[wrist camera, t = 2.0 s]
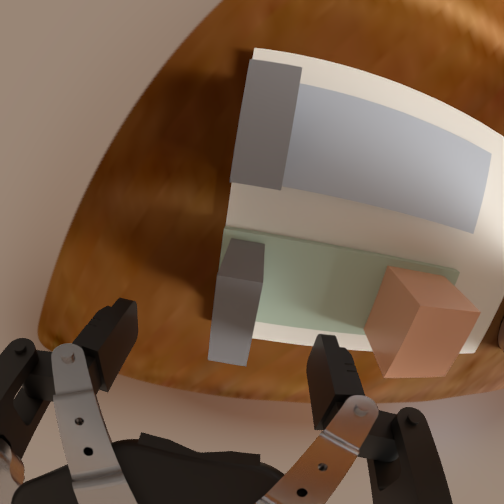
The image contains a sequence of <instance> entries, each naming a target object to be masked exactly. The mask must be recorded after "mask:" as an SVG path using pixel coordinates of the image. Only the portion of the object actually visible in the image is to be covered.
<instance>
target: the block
mask: <svg viewBox="0 0 504 504" xmlns="http://www.w3.org/2000/svg"><path fill="white" fill-rule="evenodd" d="M480 313H481V312H480V311H479V310H478V309H477V308H476V307H475V305H474V304H473V303H472V302H471V301H470V300H469V299H467V298H466V297H465V296H464V295H463V294H462V293H461V292H460V291H459V290H458V289H457V288H456V287H455V286H454V285H453V284H452V283H451V282H450V281H449V280H448V279H447V278H446V277H444V276H442V275H436V274H431V273H426V272H420V271H415V270H410V269H404V268H399V267H393V266H388V265H387V268H386V271H385V274H384V277H383V280H382V283H381V285H380V288H379V291H378V294H377V296H376V299H375V302H374V304H373V307H372V309H371V312H370V314H369V317H368V319H367V322H366V324H365V327H364V329H363V330H364V332H365V334H366V336H367V339H368V341H369V343H370V346H371V348H372V351H373V353H374V355H375V358H376V360H377V363H378V365H379V368H380V370H381V372H382V375H383V378H422V377H443V376H445V375H446V373H447V372H448V370H449V369H450V367H451V366H452V364H453V362H454V361H455V359H456V358H457V356H458V354H459V352H460V351H461V349H462V347H463V346H464V344H465V342H466V340H467V338H468V337H469V335H470V333H471V331H472V329H473V327H474V325H475V323H476V321H477V319H478V317H479V315H480Z"/></svg>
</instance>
